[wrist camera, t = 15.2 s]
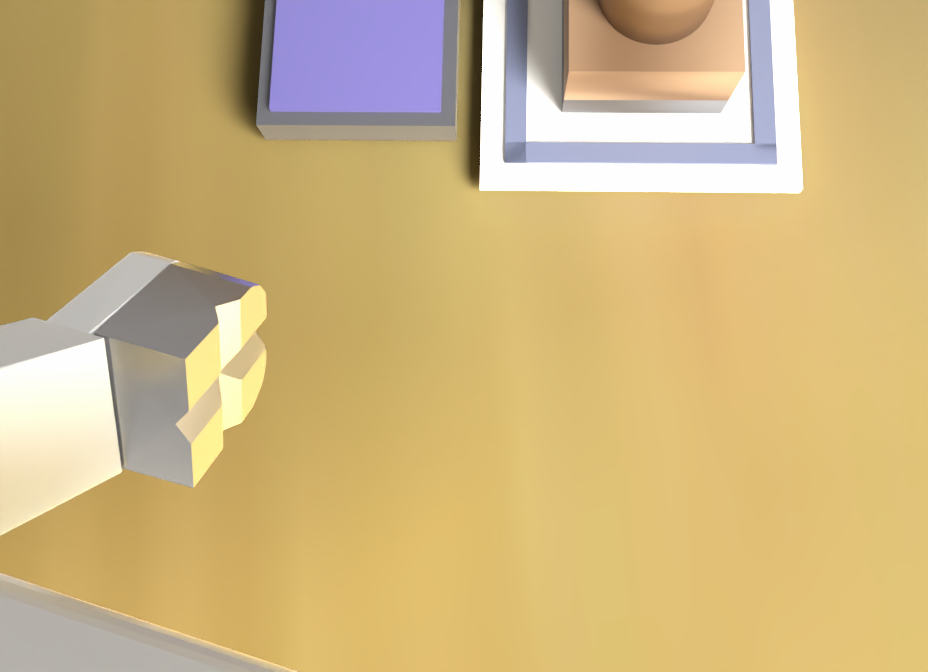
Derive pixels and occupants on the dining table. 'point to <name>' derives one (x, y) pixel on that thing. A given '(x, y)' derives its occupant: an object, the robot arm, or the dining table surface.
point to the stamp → (651, 55)
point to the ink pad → (359, 70)
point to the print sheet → (634, 116)
